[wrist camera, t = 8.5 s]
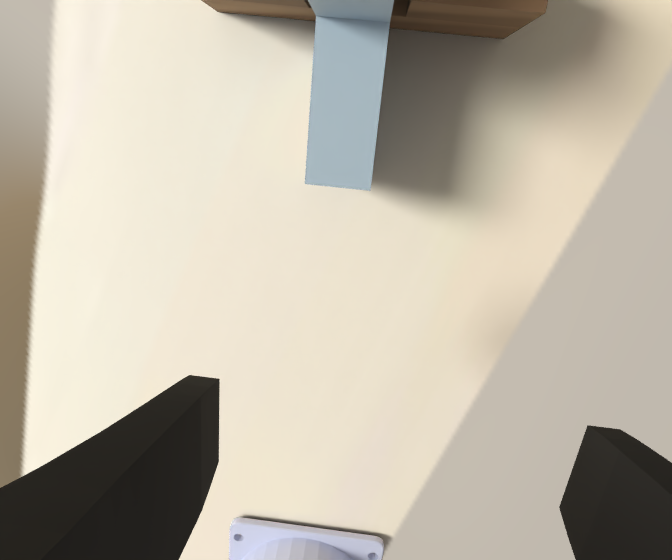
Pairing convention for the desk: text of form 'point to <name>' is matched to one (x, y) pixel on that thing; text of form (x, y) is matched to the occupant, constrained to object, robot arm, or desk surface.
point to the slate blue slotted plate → (346, 91)
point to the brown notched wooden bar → (416, 14)
